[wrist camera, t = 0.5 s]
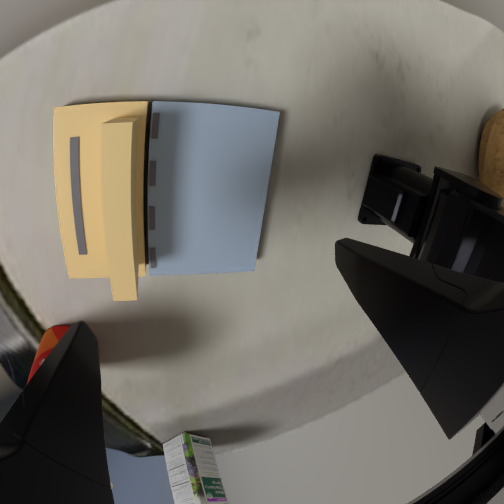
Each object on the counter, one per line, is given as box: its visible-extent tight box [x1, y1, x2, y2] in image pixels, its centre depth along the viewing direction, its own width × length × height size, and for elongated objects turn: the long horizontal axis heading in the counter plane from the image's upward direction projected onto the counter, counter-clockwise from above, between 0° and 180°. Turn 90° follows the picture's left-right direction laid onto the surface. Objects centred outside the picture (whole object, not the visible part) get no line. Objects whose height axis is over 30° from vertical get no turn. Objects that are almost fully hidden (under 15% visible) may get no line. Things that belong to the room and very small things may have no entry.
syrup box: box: [163, 432, 229, 504], centre depth 32 cm, size 6×6×14 cm
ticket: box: [148, 101, 280, 276], centre depth 19 cm, size 8×12×2 cm, turn 172°
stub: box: [53, 101, 149, 301], centre depth 15 cm, size 6×12×6 cm, turn 172°
